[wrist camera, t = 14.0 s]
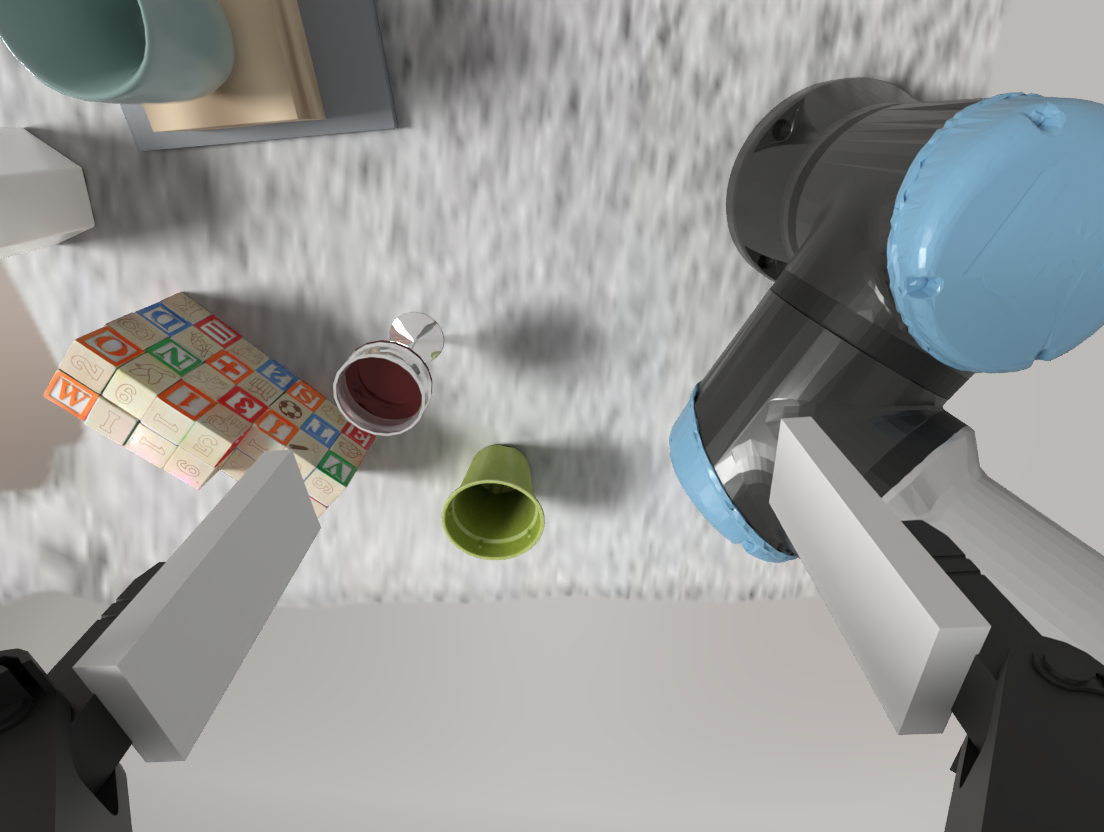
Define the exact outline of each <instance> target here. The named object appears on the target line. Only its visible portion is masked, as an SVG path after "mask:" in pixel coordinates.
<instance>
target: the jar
mask: <svg viewBox="0 0 1104 832" xmlns="http://www.w3.org/2000/svg"><path fill="white" fill-rule="evenodd" d="M94 226H95V222H94V218H93V213H92V209H91V205H90V201H89V196H88V192H87V188H86V183H85V179H84V175H83V171H82V168H81V167H80V166H78V165H77V164H75V163H74V162H72V161H71V160H69V159H68V158H67V157H65V156H64V155H62V154H61V153H59V152H58V151H56V150H55V149H53V148H52V147H50V146H49V145H47V144H46V143H44V142H43V141H41V140H40V139H38V138H37V137H35V136H34V135H32V134H31V133H29V132H28V131H26V130H25V129H23V128H21V127H0V259H2V258H6V257H10V256H14V255H18V254H22V253H26V252H30V251H34V250H38V249H42V248H46V247H50V246H54V245H56V244H58V243H61V242H63V241H65V240H67V239H69V238H71V237H73V236H76V235H78V234H80V233H82V232H84V231H86V230H89V229H91V228H93V227H94Z"/></svg>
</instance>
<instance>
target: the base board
mask: <svg viewBox="0 0 1104 832" xmlns="http://www.w3.org/2000/svg"><path fill="white" fill-rule="evenodd" d="M297 3H298V7H299V11H300V15H301V19H302V23H303V27H304V31H305V35H306V39H307V43H308V47H309V51H310V55H311V59H312V63H313V67H314V72H315V76H316V80H317V84H318V88H319V92H320V96H321V100H322V104H323V108H324V112H325V116H326V119H322V120H311V121H300V122H289V123H278V124H267V125H256V126H246V127H235V128H224V129H213V130H202V131H177V132H153V130H152V127H151V125H150V122H149V120H148V117H147V114H146V112H145V109H144V107H143V105H135V104H120V105H121V108H122V110H123V113H124V115H125V118H126V120H127V123H128V125H129V128H130V130H131V133H132V135H133V138H134V140H135V143H136V145H137V148H138V150H139V151H151V150H162V149H173V148H184V147H195V146H206V145H217V144H228V143H239V142H250V141H261V140H272V139H284V138H295V137H306V136H317V135H328V134H339V133H350V132H361V131H372V130H383V129H394V128H398V124H397V119H396V113H395V108H394V103H393V98H392V92H391V87H390V82H389V77H388V72H387V66H386V61H385V56H384V51H383V45H382V40H381V35H380V30H379V24H378V19H377V14H376V9H375V3H374V0H297Z"/></svg>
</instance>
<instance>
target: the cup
mask: <svg viewBox="0 0 1104 832" xmlns="http://www.w3.org/2000/svg"><path fill="white" fill-rule="evenodd" d="M0 38H1V40H2V42H3V43H4V44H5V45H6V47H7V48H8V49H9V50H10V52H11V53H12V54H13V56H14V57H15V58H16V59H17V60H18V61H19V62H20V63H21V64H22V65H23V66H24V67H25V68H26V69H27V70H28V71H29V72H30V73H31V74H32V75H33V76H34V77H36V78H37V79H38V80H40V81H41V82H42V83H44V84H45V85H46V86H48V87H50V88H52V89H54V90H56V91H58V92H60V93H62V94H64V95H67V96H70V97H74V98H77V99H80V100H84V101H90V102H101V103H113V104H135V105H166V104H176V103H184V102H190V101H195V100H198V99H201V98H204V97H206V96H209V95H211V94H212V93H214V92H215V91H217V90H218V89H220V88H221V87H222V86H223V85H224V84H225V82H226V81H227V80H228V79H229V77H230V75H231V73H232V71H233V67H234V62H235V45H234V39H233V34H232V31H231V27H230V24H229V21H228V19H227V16H226V14H225V12H224V10H223V8H222V6H221V4H220V2H219V1H218V0H0Z"/></svg>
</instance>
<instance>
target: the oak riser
mask: <svg viewBox="0 0 1104 832" xmlns="http://www.w3.org/2000/svg"><path fill="white" fill-rule="evenodd" d="M218 1H219V2H220V4H221V6H222V8H223V10H224V12H225V14H226V16H227V19H228V21H229V24H230V27H231V31H232V34H233V39H234V45H235V62H234V67H233V71H232V73H231V75H230V77H229V79H228V80H227V81H226V82H225V84H224V85H223V86H222V87H221V88H220V89H218V90H217V91H215V92H214V93H212V94H211V95H209V96H206V97H204V98H201V99H198V100H195V101H190V102H184V103H176V104H166V105H143V107H144V109H145V112H146V114H147V117H148V120H149V122H150V125H151V127H152V130H153V132H177V131H202V130H213V129H224V128H235V127H246V126H256V125H267V124H278V123H289V122H300V121H311V120H322V119H326V116H325V112H324V108H323V104H322V100H321V96H320V92H319V88H318V84H317V80H316V76H315V72H314V67H313V63H312V59H311V55H310V51H309V47H308V43H307V39H306V35H305V31H304V27H303V23H302V19H301V15H300V11H299V7H298V3H297V0H218Z"/></svg>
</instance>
